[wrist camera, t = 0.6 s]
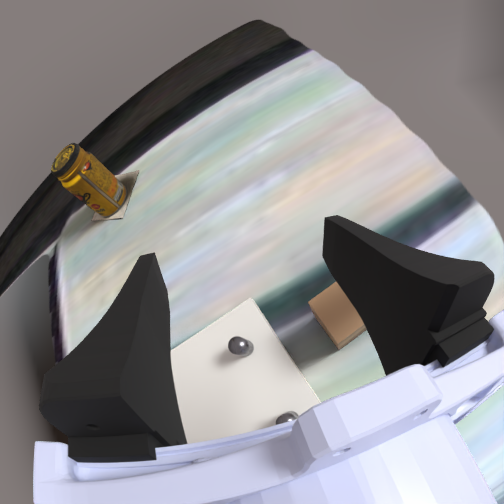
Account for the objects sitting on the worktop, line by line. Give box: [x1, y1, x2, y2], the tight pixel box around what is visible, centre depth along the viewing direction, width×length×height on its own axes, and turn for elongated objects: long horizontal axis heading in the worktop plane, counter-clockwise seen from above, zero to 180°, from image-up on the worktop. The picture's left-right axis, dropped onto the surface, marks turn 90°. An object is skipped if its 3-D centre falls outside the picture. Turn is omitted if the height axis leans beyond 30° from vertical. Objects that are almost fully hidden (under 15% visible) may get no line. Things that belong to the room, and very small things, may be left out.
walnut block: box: [308, 281, 367, 350], centre depth 24 cm, size 4×8×6 cm, turn 121°
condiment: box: [51, 143, 139, 221], centre depth 39 cm, size 7×8×12 cm
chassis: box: [171, 297, 321, 444], centre depth 25 cm, size 16×18×4 cm
